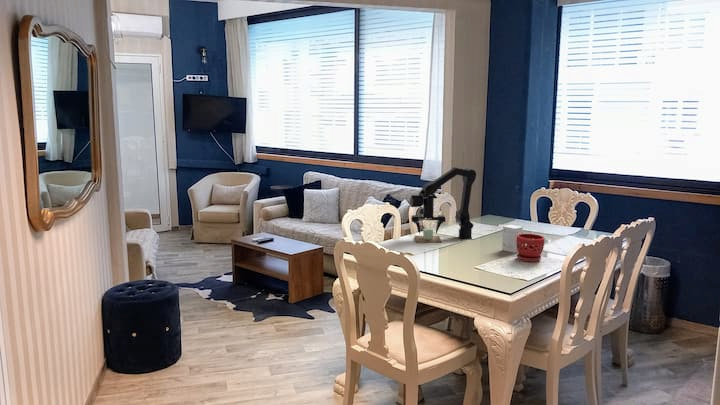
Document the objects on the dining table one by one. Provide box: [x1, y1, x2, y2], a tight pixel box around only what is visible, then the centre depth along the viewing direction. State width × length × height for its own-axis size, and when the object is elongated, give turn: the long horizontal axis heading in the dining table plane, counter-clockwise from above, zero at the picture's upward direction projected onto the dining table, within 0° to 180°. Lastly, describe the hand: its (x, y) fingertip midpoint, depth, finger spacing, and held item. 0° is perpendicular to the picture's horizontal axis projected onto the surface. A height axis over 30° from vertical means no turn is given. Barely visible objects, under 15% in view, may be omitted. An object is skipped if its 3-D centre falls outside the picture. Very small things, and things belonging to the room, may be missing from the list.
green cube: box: [422, 228, 434, 239], centre depth 314 cm, size 5×5×5 cm
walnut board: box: [414, 235, 442, 244], centre depth 314 cm, size 14×12×1 cm
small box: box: [501, 224, 524, 254], centre depth 290 cm, size 8×6×13 cm
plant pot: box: [516, 233, 546, 263], centre depth 274 cm, size 13×13×12 cm
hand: (428, 233), depth 314 cm, fingers open, 9 cm apart
